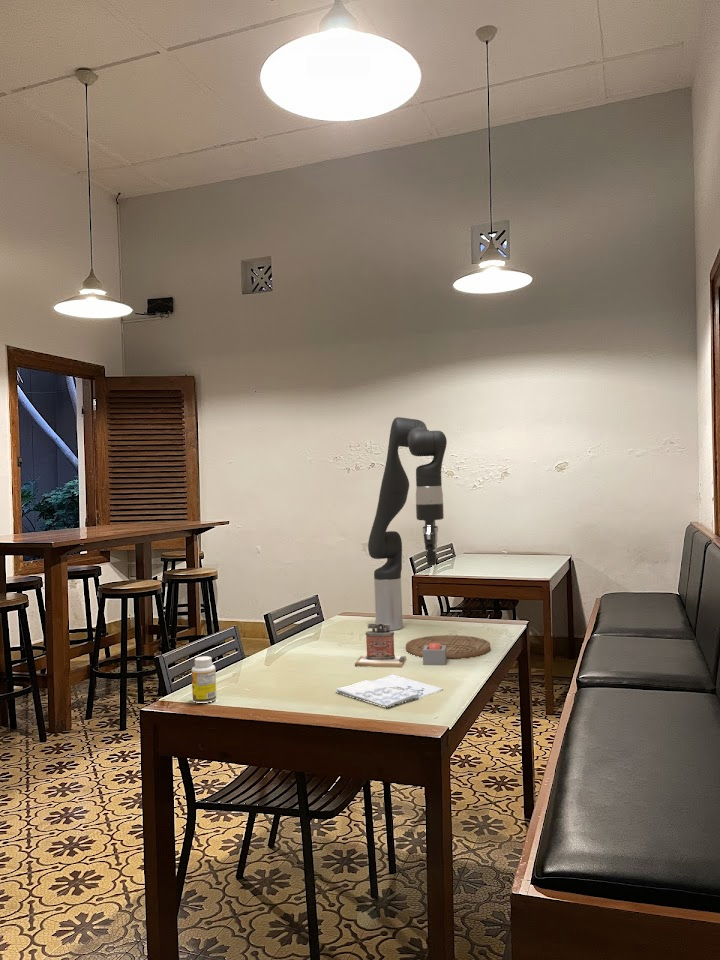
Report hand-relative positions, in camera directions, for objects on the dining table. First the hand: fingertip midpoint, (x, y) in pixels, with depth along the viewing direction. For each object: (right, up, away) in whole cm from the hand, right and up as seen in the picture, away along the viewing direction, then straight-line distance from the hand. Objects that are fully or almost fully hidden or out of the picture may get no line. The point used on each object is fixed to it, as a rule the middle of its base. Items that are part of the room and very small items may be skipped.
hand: (431, 564), depth 203 cm
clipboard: (-14, -28, +1) cm, 31 cm away
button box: (+1, -27, 0) cm, 27 cm away
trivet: (+6, -27, +15) cm, 32 cm away
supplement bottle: (-57, -29, -29) cm, 70 cm away
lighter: (-14, -27, +2) cm, 30 cm away
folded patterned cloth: (-13, -28, -27) cm, 41 cm away
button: (+1, -26, 0) cm, 26 cm away
